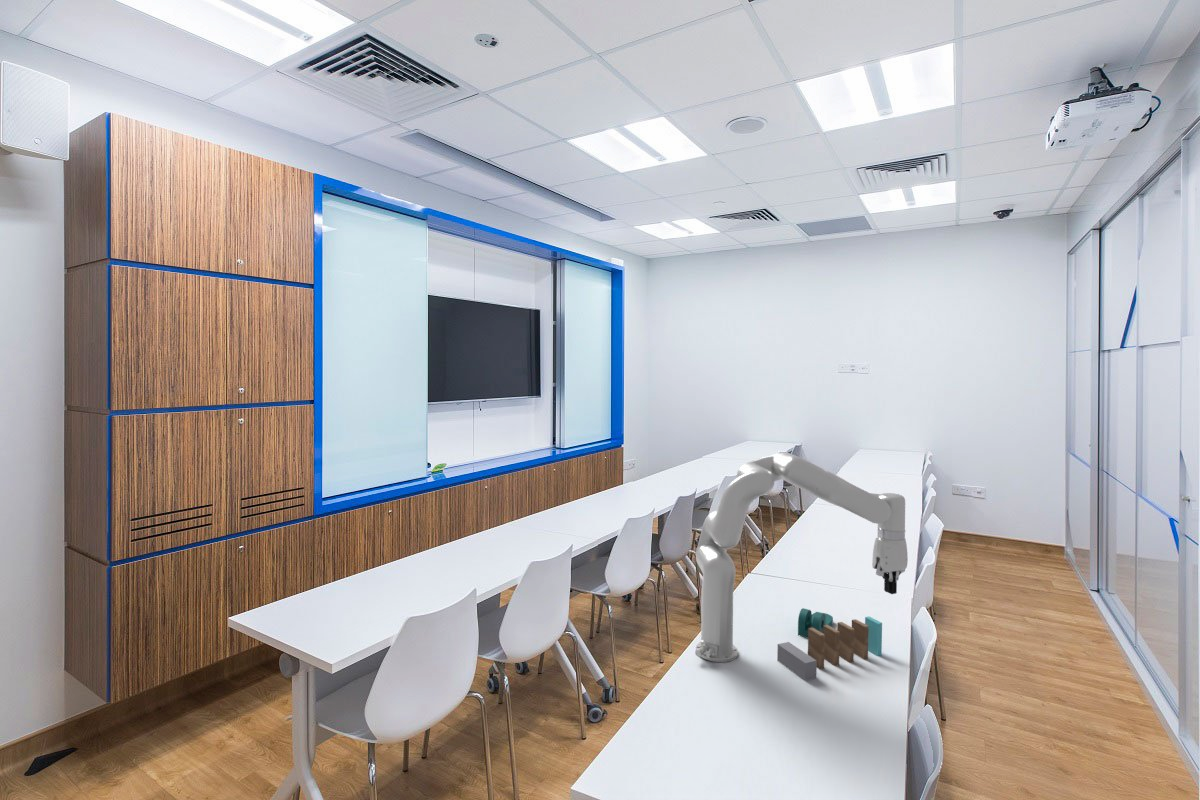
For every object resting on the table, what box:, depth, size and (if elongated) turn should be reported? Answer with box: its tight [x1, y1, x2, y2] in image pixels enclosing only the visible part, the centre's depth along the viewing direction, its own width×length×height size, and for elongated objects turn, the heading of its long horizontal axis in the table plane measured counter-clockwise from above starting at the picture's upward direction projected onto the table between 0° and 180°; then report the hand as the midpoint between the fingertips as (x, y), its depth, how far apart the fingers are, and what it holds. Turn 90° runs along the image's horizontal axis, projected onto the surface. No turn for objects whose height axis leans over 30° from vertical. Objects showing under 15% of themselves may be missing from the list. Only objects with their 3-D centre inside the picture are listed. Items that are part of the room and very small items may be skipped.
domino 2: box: [823, 625, 840, 667], centre depth 171 cm, size 2×5×10 cm, turn 20°
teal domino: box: [864, 616, 883, 657], centre depth 177 cm, size 2×5×10 cm, turn 21°
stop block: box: [776, 641, 818, 681], centre depth 167 cm, size 4×12×5 cm, turn 20°
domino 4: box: [851, 619, 869, 660], centre depth 175 cm, size 2×5×10 cm, turn 21°
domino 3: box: [836, 621, 855, 663], centre depth 173 cm, size 2×5×10 cm, turn 20°
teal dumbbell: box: [797, 607, 834, 639], centre depth 193 cm, size 18×7×8 cm, turn 142°
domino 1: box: [807, 628, 825, 670], centre depth 169 cm, size 2×5×10 cm, turn 20°
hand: (890, 592), depth 178 cm, fingers closed
